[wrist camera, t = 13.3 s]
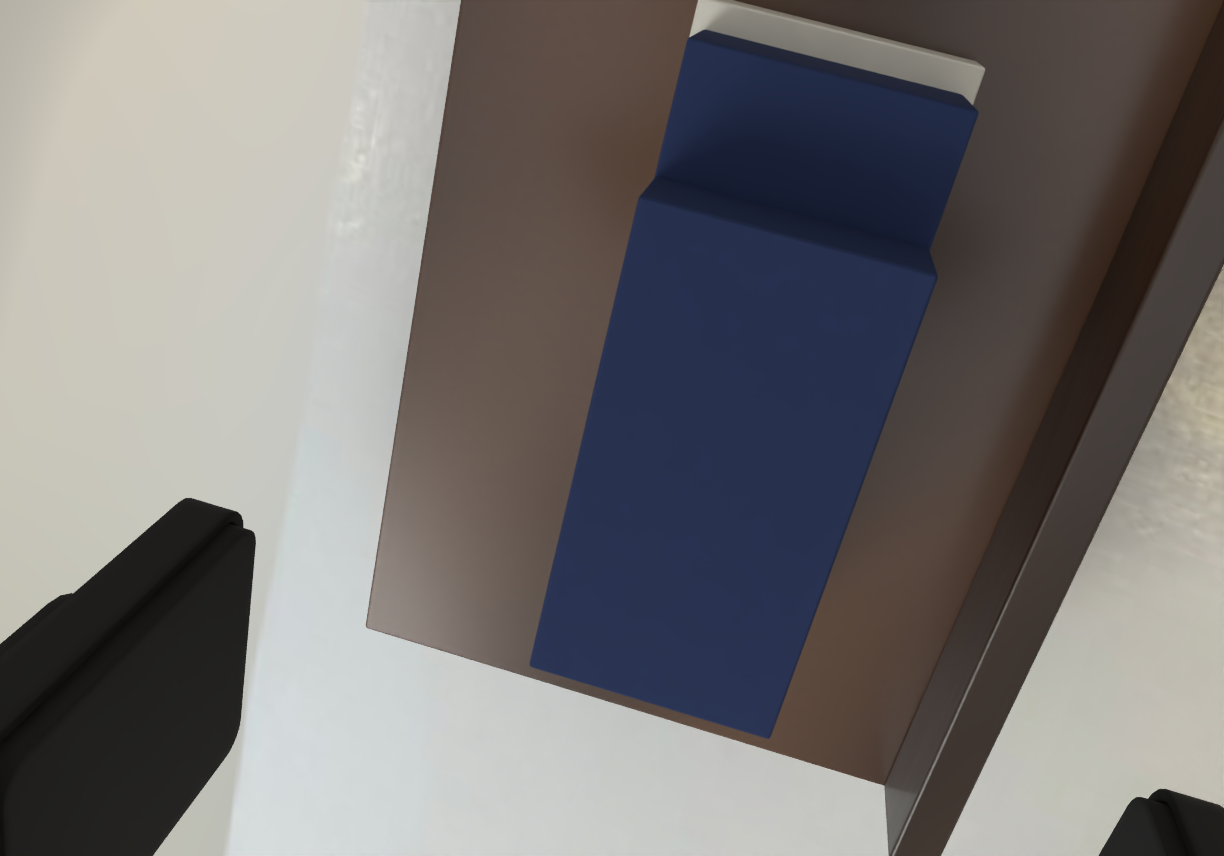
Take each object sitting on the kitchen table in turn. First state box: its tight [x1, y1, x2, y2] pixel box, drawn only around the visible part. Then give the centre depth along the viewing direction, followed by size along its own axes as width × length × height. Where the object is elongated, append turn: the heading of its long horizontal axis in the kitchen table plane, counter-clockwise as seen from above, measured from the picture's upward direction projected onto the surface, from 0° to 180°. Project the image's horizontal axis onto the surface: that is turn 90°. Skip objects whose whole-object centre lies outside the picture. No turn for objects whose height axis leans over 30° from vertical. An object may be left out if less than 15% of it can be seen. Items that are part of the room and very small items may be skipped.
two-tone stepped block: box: [530, 0, 985, 739], centre depth 20 cm, size 5×12×5 cm, turn 167°
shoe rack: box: [366, 0, 1224, 856], centre depth 24 cm, size 14×20×8 cm
